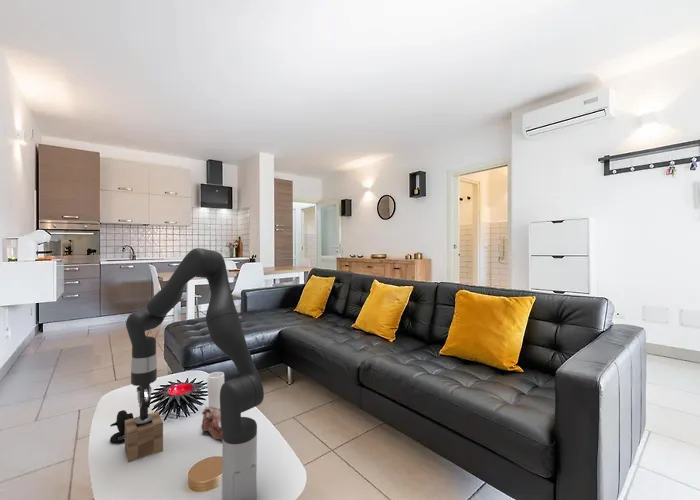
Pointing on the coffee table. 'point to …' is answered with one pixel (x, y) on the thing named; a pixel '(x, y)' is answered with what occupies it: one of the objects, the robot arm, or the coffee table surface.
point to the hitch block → (143, 438)
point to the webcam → (120, 427)
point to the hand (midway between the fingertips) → (143, 418)
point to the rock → (212, 422)
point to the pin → (144, 421)
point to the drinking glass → (215, 388)
